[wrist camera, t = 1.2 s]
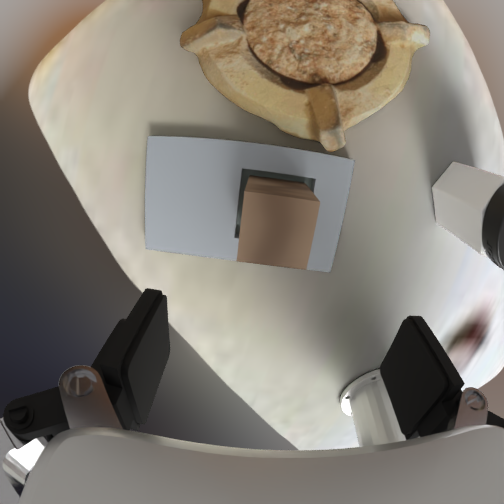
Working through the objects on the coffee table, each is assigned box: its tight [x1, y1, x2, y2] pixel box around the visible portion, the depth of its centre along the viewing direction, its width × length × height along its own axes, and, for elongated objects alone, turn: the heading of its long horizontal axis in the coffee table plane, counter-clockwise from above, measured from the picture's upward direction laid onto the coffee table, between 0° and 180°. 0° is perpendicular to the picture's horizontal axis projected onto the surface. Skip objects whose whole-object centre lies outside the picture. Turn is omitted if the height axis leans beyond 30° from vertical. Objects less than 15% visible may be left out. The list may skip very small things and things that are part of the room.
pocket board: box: [145, 136, 355, 272], centre depth 28 cm, size 20×12×2 cm, turn 83°
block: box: [237, 175, 320, 270], centre depth 25 cm, size 6×6×8 cm
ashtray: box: [180, 0, 430, 152], centre depth 19 cm, size 24×24×5 cm
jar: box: [432, 162, 504, 269], centre depth 21 cm, size 9×8×12 cm
